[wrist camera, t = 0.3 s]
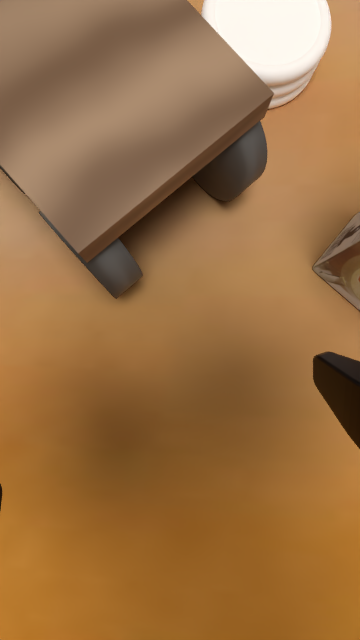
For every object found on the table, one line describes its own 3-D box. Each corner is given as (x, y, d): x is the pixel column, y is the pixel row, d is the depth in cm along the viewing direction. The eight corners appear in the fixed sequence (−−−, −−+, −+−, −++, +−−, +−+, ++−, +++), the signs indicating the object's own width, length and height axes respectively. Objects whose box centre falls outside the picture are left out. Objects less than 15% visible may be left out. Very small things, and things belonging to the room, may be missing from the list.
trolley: (249, 197, 24) (439, -146, 7) (122, 305, 23) (1, 190, 6) (112, 48, 25) (-4, -584, 8) (-19, 145, 23) (-484, -363, 7)
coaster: (303, 5, 26) (325, -48, 23) (319, 110, 25) (343, 72, 22) (191, 9, 26) (195, -45, 22) (203, 116, 25) (209, 78, 21)
